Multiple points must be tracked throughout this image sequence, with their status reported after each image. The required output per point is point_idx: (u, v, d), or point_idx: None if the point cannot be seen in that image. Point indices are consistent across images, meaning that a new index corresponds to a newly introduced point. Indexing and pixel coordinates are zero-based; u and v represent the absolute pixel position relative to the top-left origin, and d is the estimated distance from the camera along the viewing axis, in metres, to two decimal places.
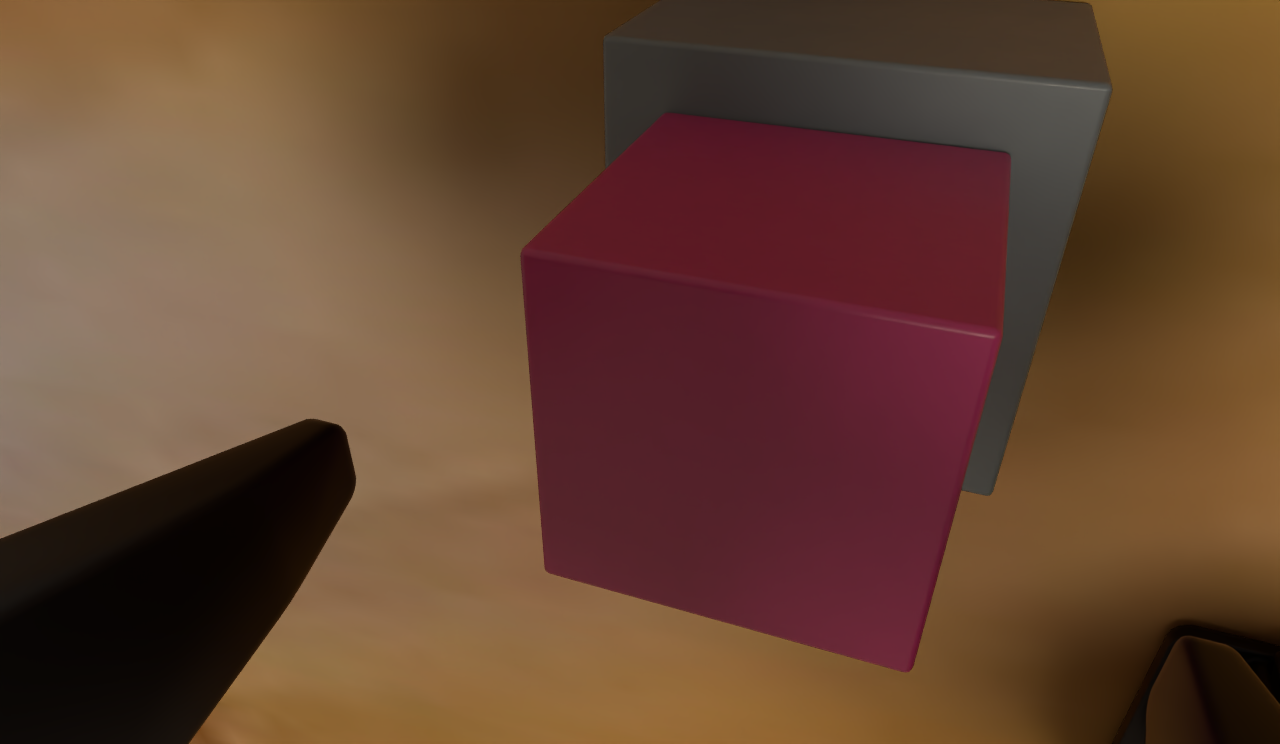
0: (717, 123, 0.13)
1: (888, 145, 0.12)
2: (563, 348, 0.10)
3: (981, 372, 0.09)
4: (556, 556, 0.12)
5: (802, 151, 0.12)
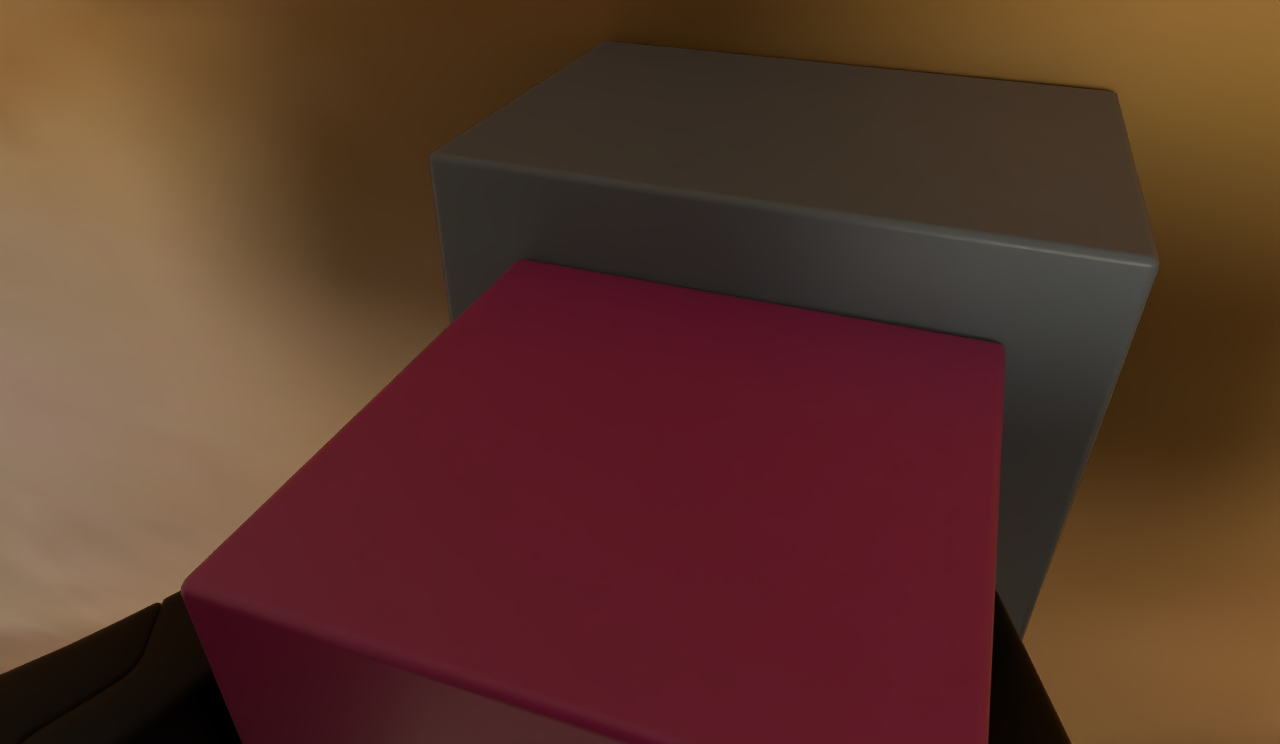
0: (586, 280, 0.09)
1: (826, 328, 0.08)
2: (274, 719, 0.06)
3: None
4: None
5: (697, 341, 0.08)
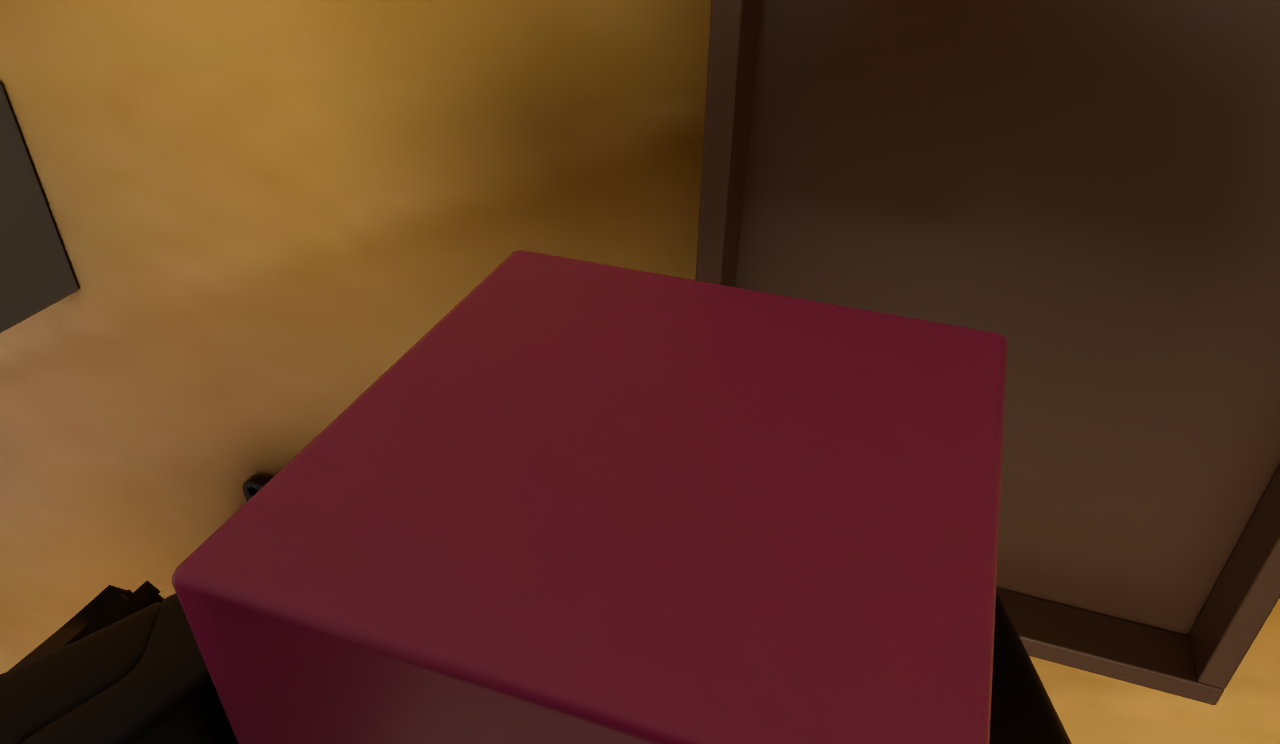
0: (583, 272, 0.09)
1: (825, 318, 0.08)
2: (267, 710, 0.06)
3: None
4: None
5: (696, 331, 0.08)
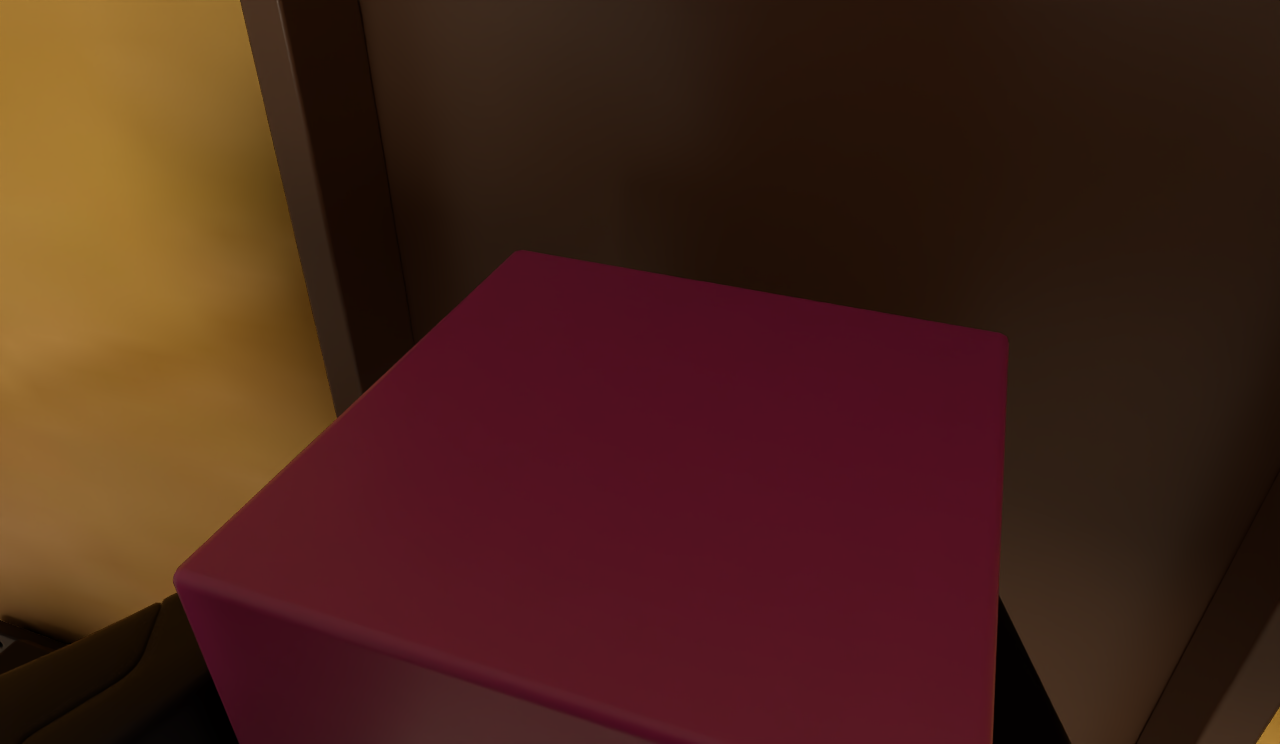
0: (584, 272, 0.09)
1: (827, 317, 0.08)
2: (268, 711, 0.06)
3: None
4: None
5: (697, 331, 0.08)
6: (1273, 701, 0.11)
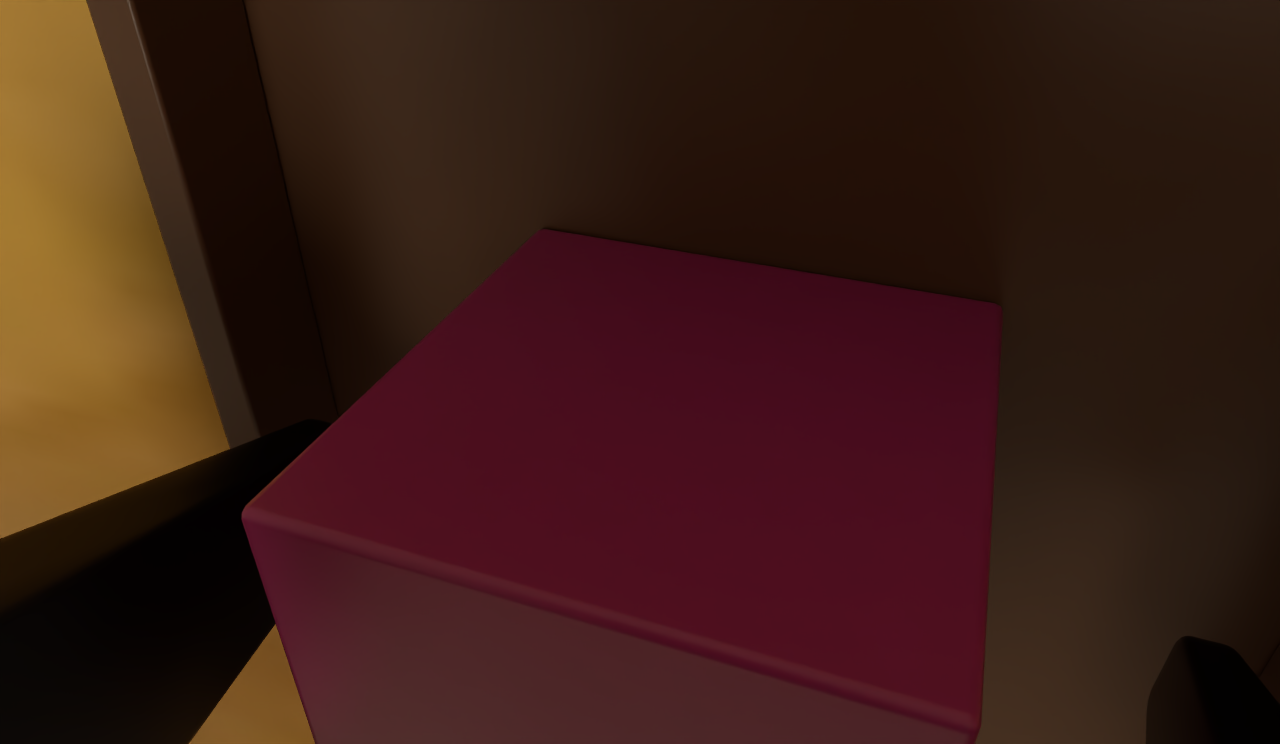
0: (604, 249, 0.10)
1: (833, 289, 0.09)
2: (324, 640, 0.07)
3: None
4: None
5: (712, 300, 0.09)
6: None
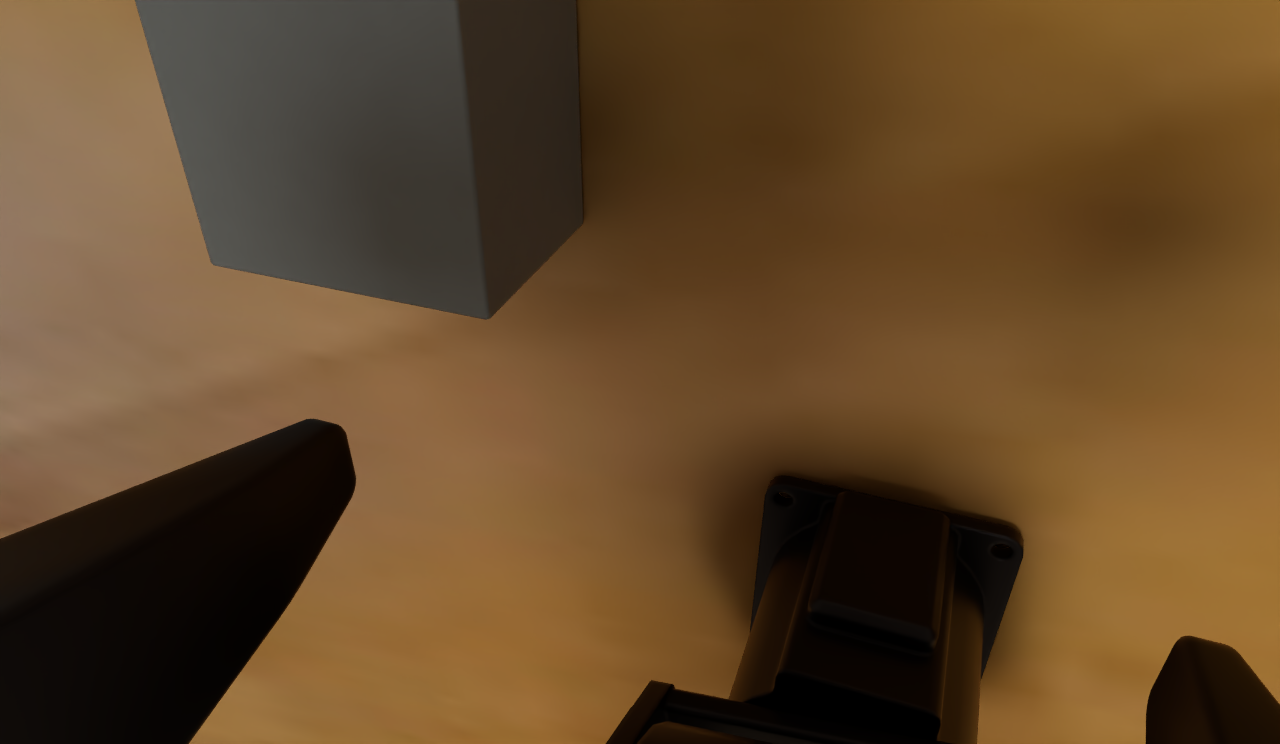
0: None
1: None
2: None
3: None
4: None
5: None
6: None
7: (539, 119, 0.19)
